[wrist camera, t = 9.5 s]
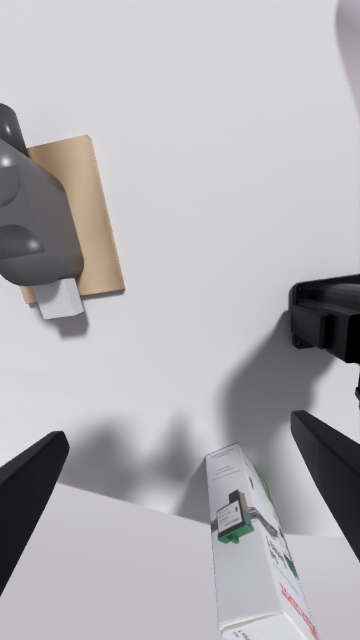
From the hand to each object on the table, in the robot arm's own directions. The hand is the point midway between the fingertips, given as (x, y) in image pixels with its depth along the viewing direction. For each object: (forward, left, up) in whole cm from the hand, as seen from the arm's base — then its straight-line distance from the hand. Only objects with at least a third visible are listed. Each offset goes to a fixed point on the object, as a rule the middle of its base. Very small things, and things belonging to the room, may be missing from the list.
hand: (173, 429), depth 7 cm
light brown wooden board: (+10, -11, -12) cm, 19 cm away
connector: (+10, -11, -11) cm, 19 cm away
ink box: (-4, +20, -12) cm, 24 cm away
